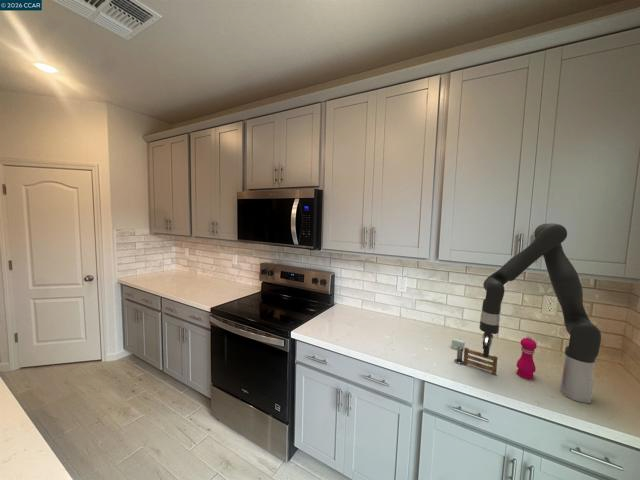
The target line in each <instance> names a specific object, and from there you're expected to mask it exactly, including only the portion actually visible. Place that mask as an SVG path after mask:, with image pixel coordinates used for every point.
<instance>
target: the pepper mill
mask: <svg viewBox="0 0 640 480" xmlns="http://www.w3.org/2000/svg"><path fill="white" fill-rule="evenodd" d="M520 346H521V347H520V348H521V349H520V350H521V356H520V358H519V359H517V362H516V367H517V368H516V369H517V370H516V374H517V376H519V377H520V378H522V379H525V380H533V379H534V375H535V374H534V373H535V372H536V371H537V369H536V364H535V362H534V358H533V357H534V355H535V350H536V348H537V342H536V341H535V340H534V339H532V336H531V335H530V334H529V335H527V336H526V337H523V338H521V340H520Z"/></svg>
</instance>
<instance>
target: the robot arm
mask: <svg viewBox="0 0 640 480" xmlns="http://www.w3.org/2000/svg"><path fill="white" fill-rule="evenodd" d="M533 236H534V240H533V242H531V243H530V244H529V245H528V246H527V247H525V248H524V249H523V250H521V251H519V253H517V254H515V255H514V256H512V257H511V258H510V259H509V260H508V261H506V263H504V264H503V265H502V266H501V267H500V268H499V269H498V270H496V271H495V272H494V273H492V274H491V275H489V276H487V278H485V280H484V281H483V289H484V290H485V297H484V299H483V301H482V307H481V312H480V317H479V318H480V320H479V330H481V332H483V334H482V350H483V352H482V353H483V356H484V357H487V358H488V357H489V355H490V350H491V346H492V344H493V339H494V335H497V334H499V330H500V322H501V317H500V315H501V306H502V305H501V304H502V302H503V299H504V295H505V286H504V285H505V284H506V283H508V282H514V281H515V280H516V279H517V278H518V277H519V276H521V274H522V273H524V272H525V271H526V270H527V269H528V268H529V267H530V266H531V265H532V264H534V263H535V262H537V260H539V259H540V258H541V257H542V256H543V259H544V263H545V266H546V269H547V273H548V276H549V277H548V278H549V280H550V284H551V286H552V289H553V292H554V293H555V296H556V299H557V301H558V303H559V305H560V307H561V308H560V309H561V312H562V315H563V320H564V326H565V331H566V332H567V333H568V334H569V342H568V345H567V346H566V347H565V349H564V357H563V364H562V371H561V373H562V374H561V381H560V387H559V388H560V390H559V391H560V392H561V394H562V395H564V396H565V397H567V398H569V399H571V400H573V401H576V402H579V403H585V404H586V403H587V404H592V398H593V397H592V396H593V389H594V383H595V382H594V379H593V378H594V371H595V364H596V358H597V357H598V356H599V353H600V348H601V343H602V332H601V331H600V329H599V328H598V327H597V326H596V325H595V324H594V323H592V322H591V320H590V319H589V316H588V314H587V312H586V310H585V307H584V303H583V302H584V301H583V300H584V295H583V294H584V293H583V285H582V282H581V280H580V277H579V274H578V272H577V270H576V269H575V267H574V265H573V263H572V262H571V261H570V260H569V258H568V257H567V255H566V254H565V252H564V248H563V245H562V243H563V242H564V241H566V239H567V237H568V230H567V229H566V227H565V226H563V225H562V224H559V223H550V222H549V223H542V224H540V225H538V226H536V228H535V229H534V233H533Z"/></svg>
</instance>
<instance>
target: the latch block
mask: <svg viewBox="0 0 640 480" xmlns="http://www.w3.org/2000/svg"><path fill="white" fill-rule="evenodd" d="M465 342H466V341H465V340H461V339H459V338H456V337H452V339H451V349H453V350H458V346H460V347H463V352H464V348H465V346H466V345H465V344H466V343H465Z"/></svg>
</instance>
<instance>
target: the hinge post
mask: <svg viewBox="0 0 640 480" xmlns="http://www.w3.org/2000/svg"><path fill="white" fill-rule="evenodd" d="M463 356H464V351H463V347H460V346H458V350H457V353H456V358H455V359H454V363H455V364H457V365H460V366H462V365H465V364H464V363H463Z"/></svg>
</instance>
